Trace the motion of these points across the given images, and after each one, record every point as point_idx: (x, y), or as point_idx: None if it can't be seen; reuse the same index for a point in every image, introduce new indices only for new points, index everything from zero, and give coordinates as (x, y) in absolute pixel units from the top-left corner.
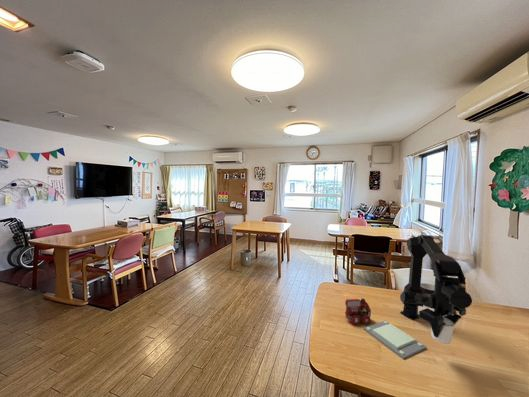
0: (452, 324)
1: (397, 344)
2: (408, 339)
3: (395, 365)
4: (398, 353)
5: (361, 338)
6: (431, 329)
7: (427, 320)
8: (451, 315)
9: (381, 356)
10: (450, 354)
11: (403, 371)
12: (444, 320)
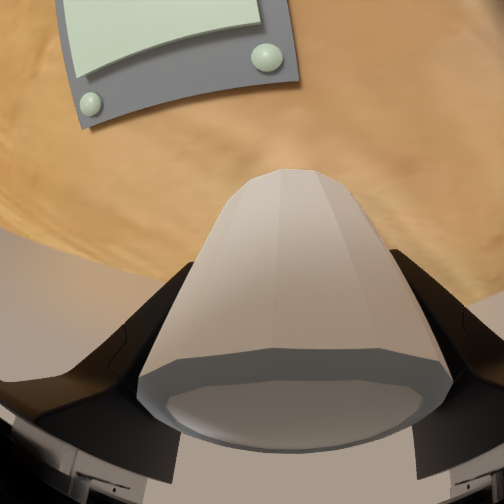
0: (319, 451)
1: (90, 58)
2: (204, 14)
3: (46, 155)
4: (75, 105)
5: (14, 5)
6: (213, 232)
7: (1, 427)
8: (445, 469)
9: (23, 107)
10: (387, 164)
11: (58, 184)
12: (332, 429)
